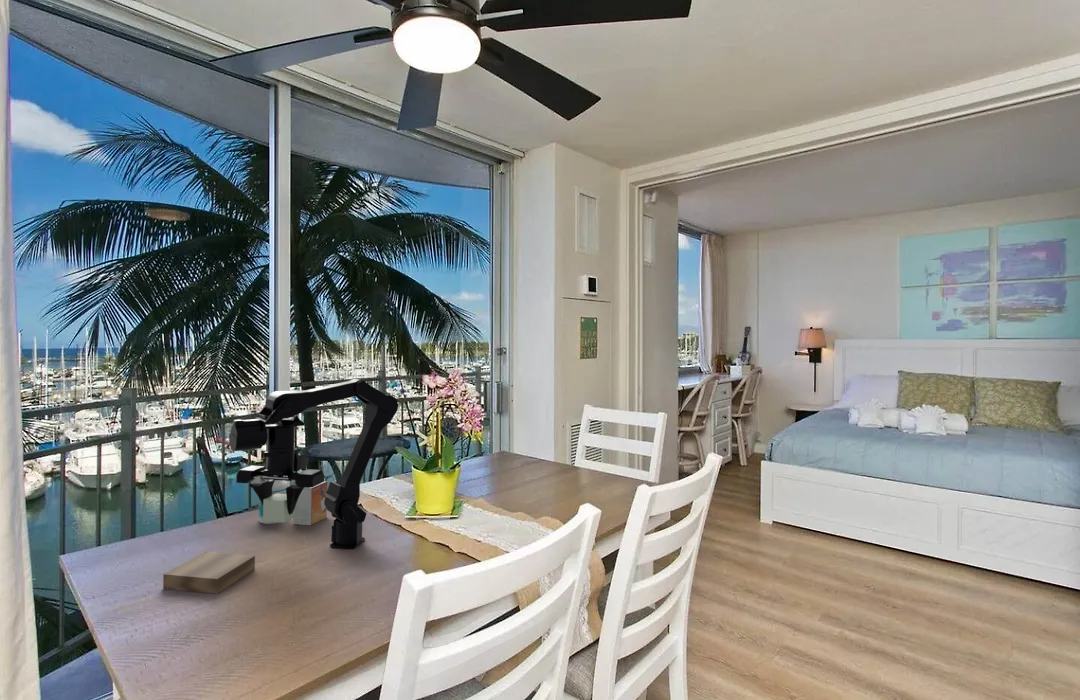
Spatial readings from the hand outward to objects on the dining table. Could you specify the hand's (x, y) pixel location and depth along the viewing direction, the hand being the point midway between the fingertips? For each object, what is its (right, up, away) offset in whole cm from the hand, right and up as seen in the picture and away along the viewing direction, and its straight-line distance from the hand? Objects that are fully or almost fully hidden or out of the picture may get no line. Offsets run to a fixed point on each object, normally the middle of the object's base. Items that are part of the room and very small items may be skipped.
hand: (279, 513), depth 129 cm
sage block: (0, -1, 0) cm, 1 cm away
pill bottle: (-15, -10, +27) cm, 32 cm away
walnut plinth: (-10, -11, -10) cm, 18 cm away
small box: (-4, -10, +28) cm, 30 cm away
